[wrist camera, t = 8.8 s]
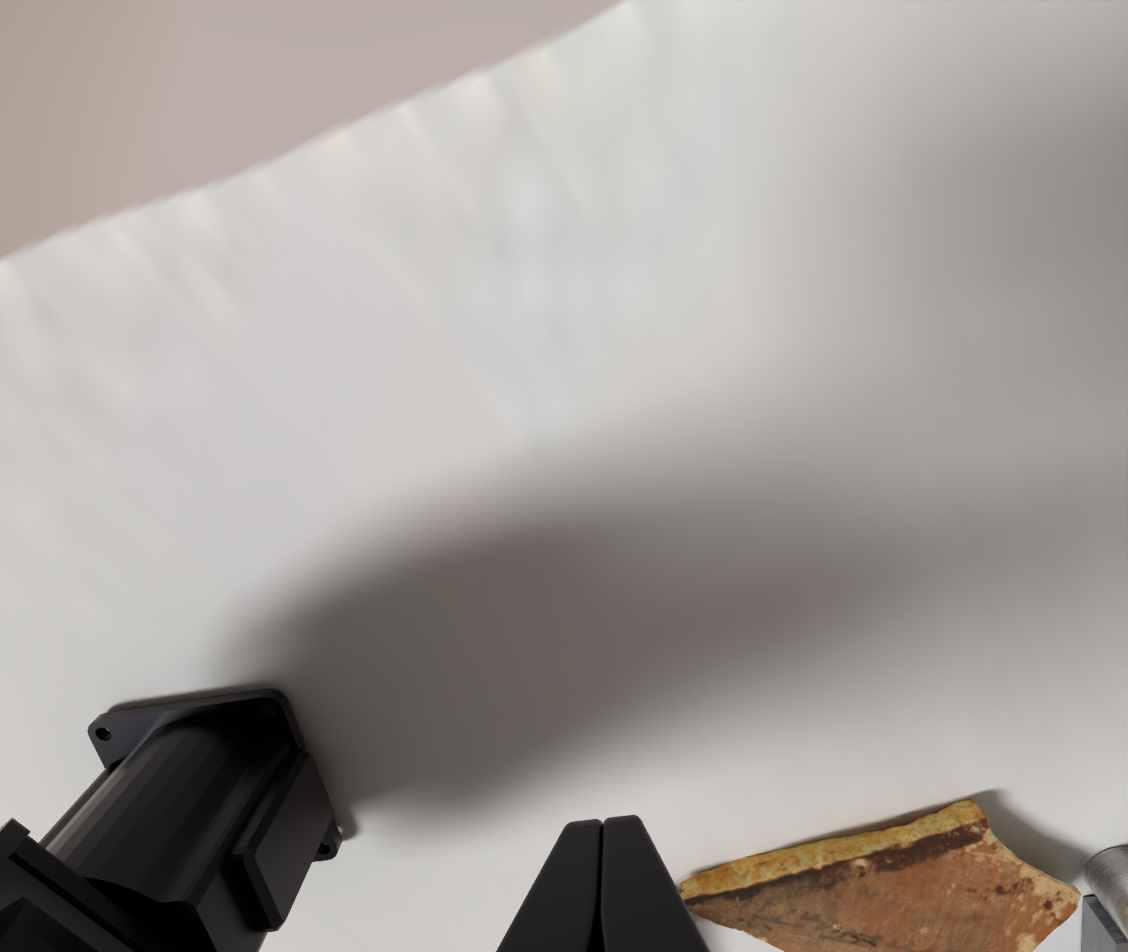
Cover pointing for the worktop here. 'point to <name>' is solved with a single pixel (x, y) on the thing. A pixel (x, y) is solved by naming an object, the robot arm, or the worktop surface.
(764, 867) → the shard
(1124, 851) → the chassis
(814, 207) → the worktop surface
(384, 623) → the worktop surface
